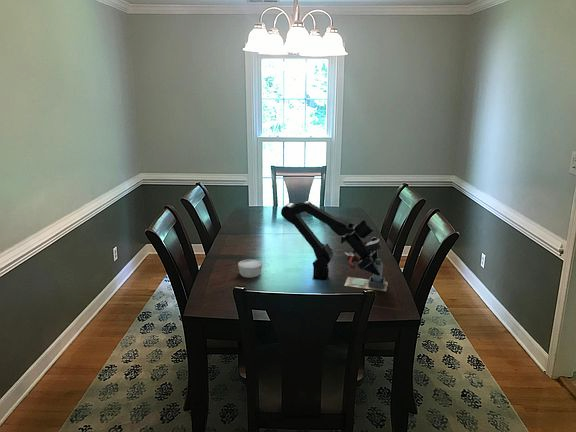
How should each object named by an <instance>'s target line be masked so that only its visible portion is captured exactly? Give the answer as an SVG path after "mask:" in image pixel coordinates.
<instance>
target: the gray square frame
mask: <svg viewBox="0 0 576 432" xmlns="http://www.w3.org/2000/svg"><path fill="white" fill-rule="evenodd" d="M372 278H373V275H371V276H369V279H368V280H369V283H368V287H371V288H379V289H384V285H385V282H386V278H385V277H382V282H381V283H378V282H372Z"/></svg>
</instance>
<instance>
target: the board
mask: <svg viewBox="0 0 576 432" xmlns="http://www.w3.org/2000/svg"><path fill="white" fill-rule="evenodd" d="M353 279H358V280H365V285H364V286H360V285H352V284H351V283H352V281H353ZM368 283H369V279H366V278H360V277H351V276H347V278H346V280H345V283H344V287H352V288H358V289H359V288H360V289H367V290H374V291H381V292H382V291H383V292H387V289H388V283H389V282H388V281H385V285H384V289H379V288H371V287H368Z"/></svg>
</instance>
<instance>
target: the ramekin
mask: <svg viewBox="0 0 576 432" xmlns="http://www.w3.org/2000/svg"><path fill="white" fill-rule="evenodd" d="M237 267H238V270H239V271H238V272H239V275H241V277H243V278H248V279H249V278H256V277H259V276H260V275H261V273H262V267H263V262H262V261H260V260H258V259H243V260H241V261H239V262H238V263H237Z"/></svg>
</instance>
